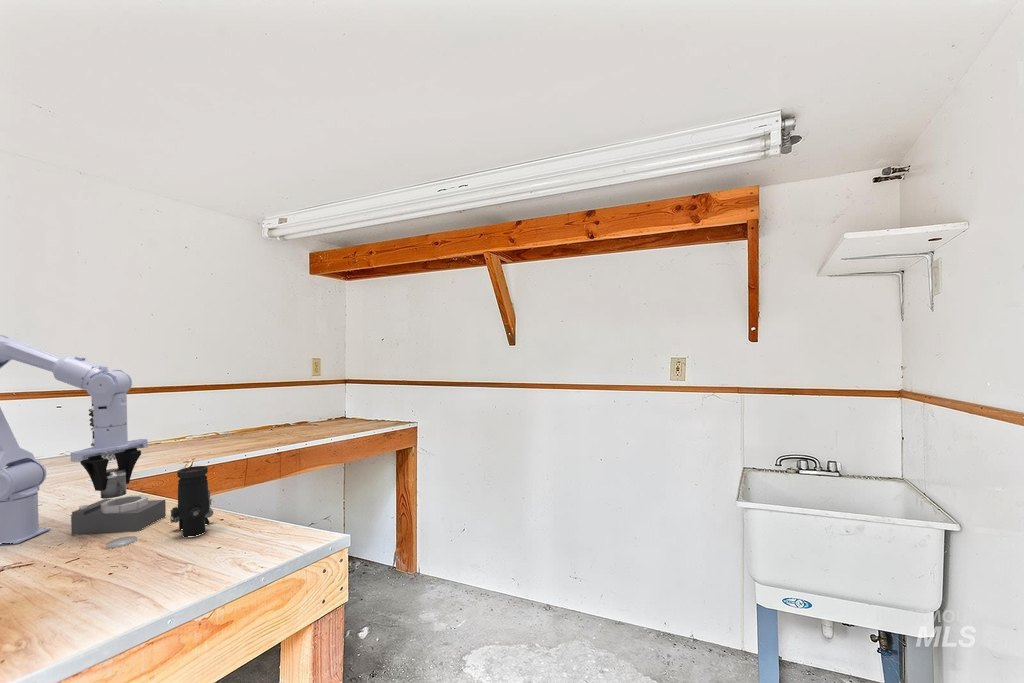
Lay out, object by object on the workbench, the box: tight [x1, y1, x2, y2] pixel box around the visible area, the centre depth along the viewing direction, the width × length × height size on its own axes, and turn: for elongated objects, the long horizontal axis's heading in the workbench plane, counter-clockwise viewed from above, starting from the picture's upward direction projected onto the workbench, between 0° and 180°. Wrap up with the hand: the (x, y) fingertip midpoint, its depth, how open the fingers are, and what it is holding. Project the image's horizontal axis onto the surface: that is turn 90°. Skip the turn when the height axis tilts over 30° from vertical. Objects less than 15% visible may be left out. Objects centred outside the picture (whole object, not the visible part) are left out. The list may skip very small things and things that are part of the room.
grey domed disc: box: [105, 535, 138, 549], centre depth 100 cm, size 5×5×1 cm
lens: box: [100, 467, 127, 500], centre depth 108 cm, size 4×4×6 cm
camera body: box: [70, 494, 167, 535], centre depth 111 cm, size 14×9×6 cm, turn 94°
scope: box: [169, 465, 214, 538], centre depth 105 cm, size 8×14×10 cm
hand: (112, 487), depth 108 cm, fingers closed on lens, 4 cm apart
